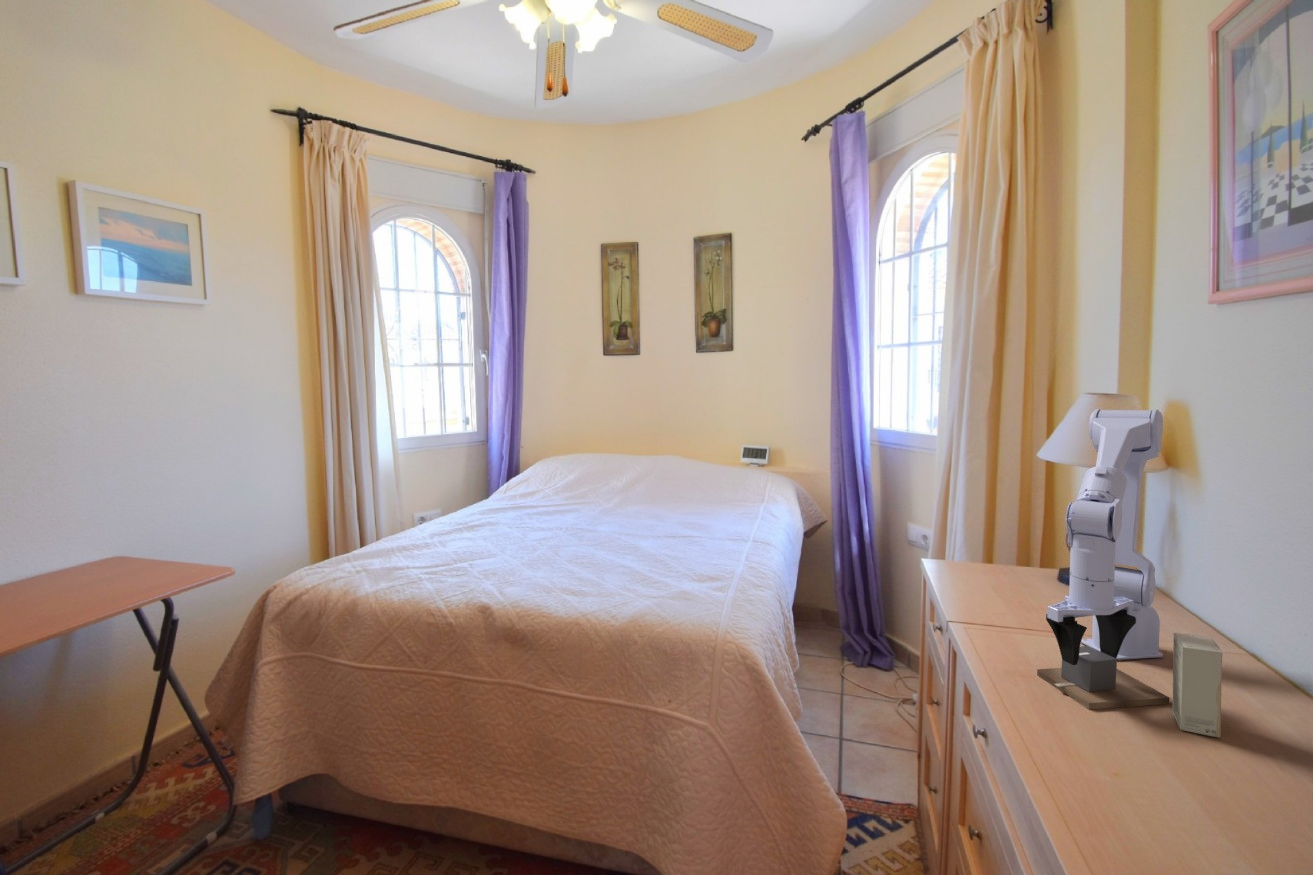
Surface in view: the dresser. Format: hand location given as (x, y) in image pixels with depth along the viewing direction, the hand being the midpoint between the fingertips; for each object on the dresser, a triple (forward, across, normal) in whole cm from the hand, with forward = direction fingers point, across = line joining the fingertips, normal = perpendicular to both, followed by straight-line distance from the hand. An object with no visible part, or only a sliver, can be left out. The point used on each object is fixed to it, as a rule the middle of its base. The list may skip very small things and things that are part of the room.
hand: (1089, 659), depth 95 cm
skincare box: (+5, -5, +12) cm, 14 cm away
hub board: (+5, -2, 0) cm, 5 cm away
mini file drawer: (+4, 0, 0) cm, 4 cm away
